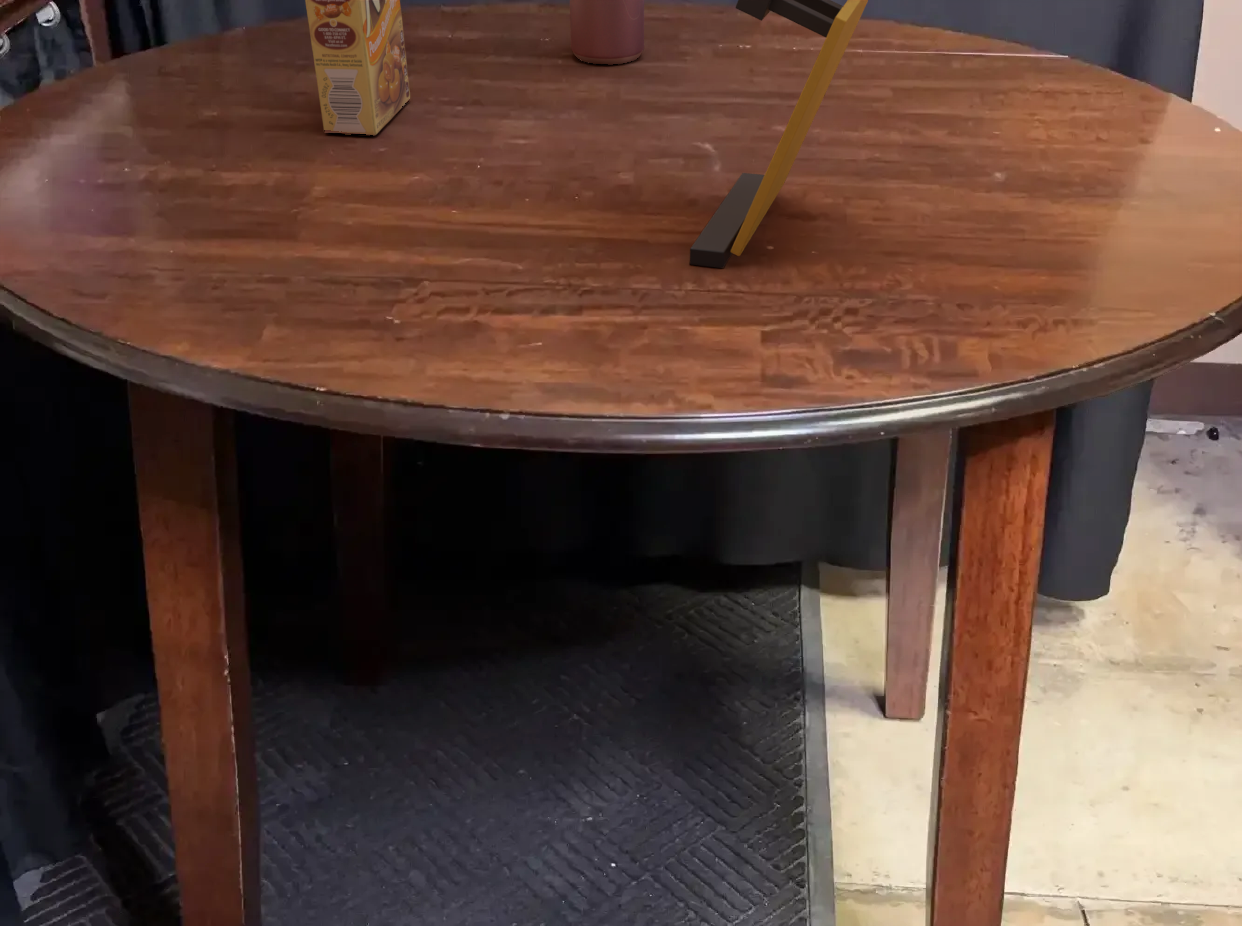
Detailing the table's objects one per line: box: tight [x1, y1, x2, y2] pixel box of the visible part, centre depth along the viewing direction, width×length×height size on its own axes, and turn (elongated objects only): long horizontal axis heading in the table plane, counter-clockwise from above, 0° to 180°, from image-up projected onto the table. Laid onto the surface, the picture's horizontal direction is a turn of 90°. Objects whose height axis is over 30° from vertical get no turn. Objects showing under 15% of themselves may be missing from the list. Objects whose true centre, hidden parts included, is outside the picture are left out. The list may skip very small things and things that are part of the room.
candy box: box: [304, 0, 411, 137], centre depth 98 cm, size 9×4×15 cm, turn 171°
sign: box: [731, 0, 869, 257], centre depth 80 cm, size 14×12×6 cm
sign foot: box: [689, 172, 765, 269], centre depth 85 cm, size 2×13×1 cm, turn 163°
